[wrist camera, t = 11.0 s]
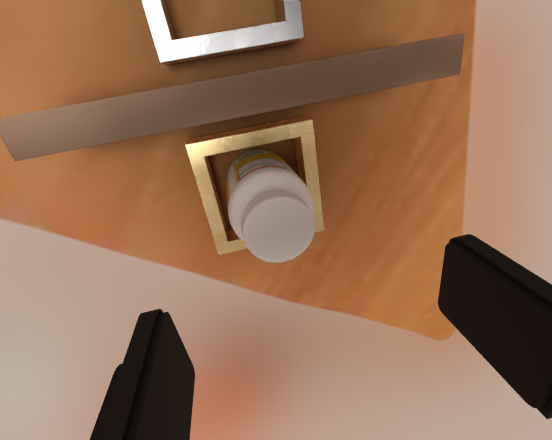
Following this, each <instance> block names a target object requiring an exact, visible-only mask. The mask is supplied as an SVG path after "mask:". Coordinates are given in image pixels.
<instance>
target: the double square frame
mask: <svg viewBox="0 0 552 440" xmlns="http://www.w3.org/2000/svg"><path fill="white" fill-rule="evenodd" d="M142 4H143V7H144V10H145V13H146V17H147V20H148V23H149V27H150V30H151V33H152V37H153V40H154V43H155V47H156V50H157V53H158V56H159V60H160V62H161V63H163V64H165V65H172V64H177V63H183V62H189V61H194V60H200V59H206V58H211V57H217V56H223V55H228V54H234V53H240V52H245V51H251V50H257V49H262V48H268V47H273V46H279V45H285V44H290V43H295V42H297V41H299V40H300V39H302V38H303V37H304V33H303V23H302V14H301V4H300V0H275V4H276V11H277V18H278V22H277V23H271V24H265V25H259V26H254V27H248V28H242V29H236V30H230V31H224V32H218V33H212V34H206V35H201V36H195V37H189V38H183V39H177V40H176V39H175V36H174V32H173V28H172V25H171V21H170V17H169V14H168V10H167V6H166V3H165V0H142ZM292 138H294V143H295V151H296V158H297V165H298V173H299V177H300V178H301V179H302V181H303V182H304V183H305V184H306V186H307V187H308V189H309V191H310V193H311V196H312V200H313V217H314V221H315V232H319V231H324V223H323V214H322V204H321V195H320V185H319V176H318V166H317V157H316V147H315V137H314V128H313V119H310V118H307V117H304V116H303V117H298V118H293V119H288V120H283V121H278V122H273V123H268V124H263V125H258V126H253V127H248V128H243V129H238V130H233V131H227V132H222V133H217V134H212V135H207V136H202V137H197V138H192V139H189V140H188V142H187V143H186V145H185V146H186V149H187V152H188V156H189V159H190V162H191V166H192V169H193V172H194V175H195V179H196V182H197V185H198V189H199V192H200V195H201V199H202V202H203V205H204V209H205V212H206V215H207V218H208V222H209V225H210V228H211V232H212V235H213V238H214V242H215V245H216V248H217V251H218V255H221V254H226V253H230V252H234V251H238V250H243V249H247V247H246V245H245V242H244V241H242V240H241V239H240V238H239V237H238V236H237V235H236V233H235V232H234V230H233V228H232V227H231V228H227V226H226V222H225V219H224V215H223V211H222V208H221V204H220V200H219V197H218V193H217V189H216V186H215V182H214V178H213V175H212V171H211V167H210V164H209V160H208V156H209V155H214V154H219V153H223V152H228V151H233V150H238V149H243V148H248V147H253V146H258V145H262V144H267V143H272V142H277V141H282V140H287V139H292ZM315 232H314V233H315Z"/></svg>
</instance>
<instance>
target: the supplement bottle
mask: <svg viewBox="0 0 552 440" xmlns="http://www.w3.org/2000/svg"><path fill="white" fill-rule="evenodd" d="M226 187H227V202H228V215H229V220H230V223H231V226H232V228H233V230H234V232H235V233H236V235H237V236H238V237H239V238H240V239H241V240H242V241H244V242H245V245H246V247H247V248H248V250H249V251H250V252H251V253H252V254H253V255H254V256H256V257H257V258H259V259H261V260H263V261H266V262H272V263H278V262H285V261H288V260H291V259H293V258H295V257H297V256H299V255H300V254H301V253H302V252H304V251H305V250H306V248H307V247H308V246H309V244H310V243H311V241H312V239H313V236H314V232H315V221H314V217H313V200H312V196H311V193H310V191H309V189H308V187H307V186H306V184H305V183H304V182H303V181H302V179H301V178H300V177H299V176H298V175H297V174H296V173H295V172H294V171H293V170H292V168H291V167H290V166H289V165H288V164H287V163H286V162H285V161H284V160H283V159H282V158H281V157H280V156H279V155H278V154H276V153H274V152H272V151H270V150H266V149H252V150H249V151H246V152H244V153H242V154H241V155H239V156H238V157H237V158H236V159H235V160H234V161H233V162H232V164H231V165H230V167H229V170H228V173H227V178H226Z"/></svg>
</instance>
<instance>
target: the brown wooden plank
mask: <svg viewBox="0 0 552 440" xmlns="http://www.w3.org/2000/svg"><path fill="white" fill-rule="evenodd" d="M463 41H464V33H461V34H456V35H450V36H445V37H439V38H434V39H428V40H423V41H417V42H412V43H406V44H401V45H395V46H390V47H385V48H379V49H374V50H368V51H363V52H357V53H352V54H346V55H341V56H335V57H330V58H324V59H319V60H313V61H308V62H303V63H297V64H292V65H286V66H281V67H275V68H270V69H264V70H259V71H253V72H248V73H242V74H237V75H231V76H226V77H221V78H215V79H210V80H204V81H199V82H193V83H188V84H182V85H177V86H171V87H166V88H160V89H155V90H149V91H144V92H139V93H133V94H128V95H122V96H117V97H111V98H106V99H100V100H95V101H89V102H84V103H78V104H73V105H67V106H62V107H57V108H51V109H46V110H40V111H35V112H29V113H24V114H18V115H13V116H7V117H2V118H0V136H1V138H2V140H3V141H4V143H5V145H6V147H7V148H8V150H9V152H10V154H11V155H12V157H13V159H14V161H19V160H25V159H30V158H35V157H40V156H45V155H50V154H55V153H60V152H65V151H71V150H76V149H81V148H86V147H91V146H96V145H101V144H106V143H111V142H117V141H122V140H127V139H132V138H137V137H142V136H147V135H152V134H157V133H163V132H168V131H173V130H178V129H183V128H188V127H193V126H198V125H203V124H209V123H214V122H219V121H224V120H229V119H234V118H239V117H244V116H249V115H254V114H260V113H265V112H270V111H275V110H280V109H285V108H290V107H295V106H300V105H306V104H311V103H316V102H321V101H326V100H331V99H336V98H341V97H346V96H352V95H357V94H362V93H367V92H372V91H377V90H382V89H387V88H392V87H398V86H403V85H408V84H413V83H418V82H423V81H428V80H433V79H438V78H444V77H449V76H454V75H459V74H460V70H461V60H462V51H463Z"/></svg>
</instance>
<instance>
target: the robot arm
mask: <svg viewBox="0 0 552 440" xmlns="http://www.w3.org/2000/svg"><path fill="white" fill-rule="evenodd" d="M438 306H439V309H440V310H441V312H442V313H443V314H444V315H445V317H446V318H447V319H448V320H449V321H450V322H451V323H452V324H453V325H454V326H455V327H456V328H457V329H458V330H459V331H460V333H461V334H462V335H463V336H464V337H465V338H466V339H467V340H468V341H469V342H470V343H471V344H472V345H473V346H474V347H475V348H476V350H477V351H478V352H479V353H480V354H481V355H482V356H483V357H484V358H485V359H486V360H487V361H488V362H489V363H490V364H491V365H492V367H493V368H494V369H495V370H496V371H497V372H498V373H499V374H500V375H501V376H502V377H503V378H504V379H505V380H506V381H507V382H508V384H509V385H510V386H511V387H512V388H513V389H514V390H515V391H516V392H517V393H518V394H519V395H520V396H521V398H523V400H524V401H525V402H526V403H527V404H529V405H530V406H532V407H533V408H537V409H538V410H539V411H540V412H541V413H542V414H543V415H544V416H545V417H546V419H549V418H552V285H551V284H550V283H548V282H546V281H545V280H543V279H542V278H540V277H539V276H537V275H535V274H534V273H532V272H531V271H529V270H527V269H526V268H524V267H523V266H521V265H520V264H518V263H516V262H515V261H513V260H512V259H510V258H508V257H507V256H505V255H504V254H502V253H500V252H499V251H497V250H496V249H494V248H492V247H491V246H489V245H488V244H486V243H484V242H483V241H481V240H480V239H478V238H477V237H475V236H473V235H470V234H468V235H463V236H459V237H455V238H452V239H450V241H449V244H447V245H446V247H445V254H444V262H443V269H442V276H441V284H440V291H439V299H438ZM194 381H195V372H194V367H193V364H192V362H191V360H190V358H189V356H188V353H187V351H186V349H185V347H184V345H183V342H182V341H181V338H180V336H179V334H178V332H177V329H176V327H175V325H174V323H173V321H172V319H171V316H170V314H169V313H168V312H165V313H163V311H162V310H161V309H157V310H153V311H149V312H144V313H141V314H140V316H139V318H138V321H137V323H136V326H135V329H134V332H133V335H132V338H131V341H130V344H129V347H128V350H127V353H126V355H125V359H124V362H123V364H120V365H119V366H118V367H117V368H116V370H115V372H114V374H113V377H112V380H111V382H110V385H109V388H108V391H107V393H106V396H105V399H104V402H103V405H102V407H101V410H100V413H99V415H98V418H97V421H96V424H95V426H94V429H93V432H92V435H91V438H90V440H189V439H190V428H191V415H192V405H193V393H194Z"/></svg>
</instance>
